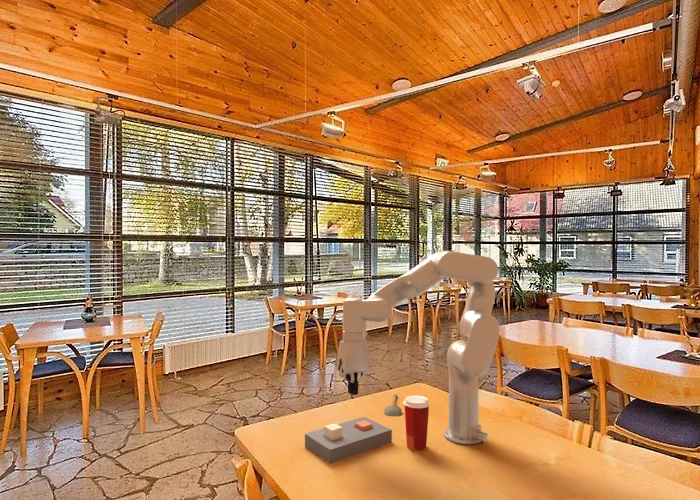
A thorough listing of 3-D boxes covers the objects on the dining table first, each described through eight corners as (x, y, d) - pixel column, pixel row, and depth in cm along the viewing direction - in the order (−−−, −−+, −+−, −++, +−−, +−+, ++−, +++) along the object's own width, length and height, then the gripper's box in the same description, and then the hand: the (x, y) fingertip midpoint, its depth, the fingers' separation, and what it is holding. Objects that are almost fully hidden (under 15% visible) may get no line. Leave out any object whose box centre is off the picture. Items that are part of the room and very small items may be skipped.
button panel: (391, 442, 141) (391, 429, 141) (330, 463, 127) (330, 449, 127) (364, 428, 152) (364, 416, 152) (304, 446, 138) (304, 433, 138)
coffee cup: (432, 444, 140) (432, 397, 140) (425, 454, 132) (426, 405, 132) (407, 439, 143) (407, 393, 143) (399, 449, 136) (399, 401, 136)
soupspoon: (383, 419, 164) (400, 421, 163) (383, 410, 164) (401, 412, 162) (388, 397, 185) (403, 399, 184) (388, 389, 185) (404, 391, 184)
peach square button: (372, 436, 143) (372, 423, 143) (362, 440, 140) (362, 426, 140) (364, 432, 146) (364, 420, 146) (354, 435, 143) (355, 422, 144)
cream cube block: (342, 440, 136) (342, 427, 136) (331, 444, 133) (331, 430, 133) (334, 436, 139) (334, 423, 139) (324, 439, 136) (324, 426, 136)
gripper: (365, 332, 148) (364, 386, 148) (328, 336, 140) (327, 394, 140) (379, 336, 142) (378, 392, 142) (341, 340, 134) (340, 401, 133)
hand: (353, 393), depth 141 cm, fingers closed
